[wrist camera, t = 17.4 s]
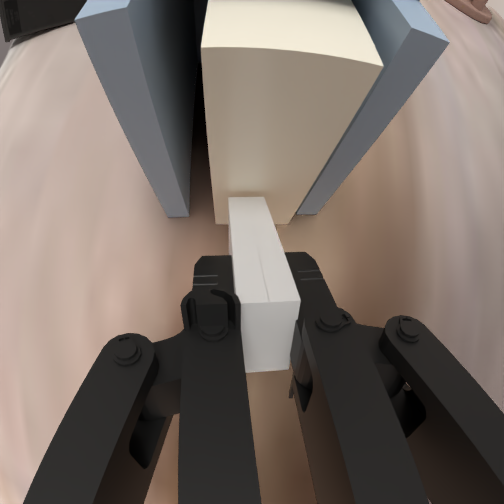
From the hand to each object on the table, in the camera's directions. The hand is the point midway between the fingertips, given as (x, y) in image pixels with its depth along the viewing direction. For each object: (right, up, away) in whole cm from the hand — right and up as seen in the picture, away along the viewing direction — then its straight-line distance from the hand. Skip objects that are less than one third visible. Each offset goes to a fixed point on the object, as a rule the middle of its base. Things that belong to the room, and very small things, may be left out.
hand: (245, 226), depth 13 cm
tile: (0, +7, +5) cm, 9 cm away
